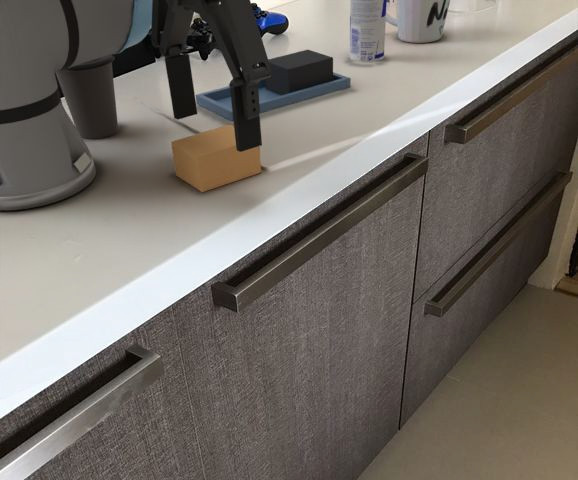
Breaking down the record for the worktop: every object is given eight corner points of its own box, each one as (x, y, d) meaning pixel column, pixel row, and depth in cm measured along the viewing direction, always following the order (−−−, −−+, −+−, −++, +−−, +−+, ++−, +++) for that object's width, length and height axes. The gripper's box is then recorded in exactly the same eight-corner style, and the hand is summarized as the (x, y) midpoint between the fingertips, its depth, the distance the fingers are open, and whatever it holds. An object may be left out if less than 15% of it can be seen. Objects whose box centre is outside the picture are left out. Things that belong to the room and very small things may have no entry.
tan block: (202, 192, 74) (197, 157, 71) (176, 175, 77) (170, 141, 75) (261, 172, 77) (258, 138, 74) (233, 157, 81) (230, 124, 78)
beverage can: (390, 62, 107) (395, -47, 98) (358, 67, 106) (361, -43, 96) (374, 54, 111) (378, -52, 102) (343, 59, 110) (344, -48, 100)
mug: (437, 48, 112) (443, -20, 106) (357, 40, 119) (358, -25, 112) (458, 32, 119) (465, -32, 113) (381, 26, 125) (384, -36, 119)
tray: (232, 125, 89) (231, 111, 88) (196, 107, 95) (195, 94, 94) (350, 90, 98) (350, 77, 97) (310, 76, 104) (310, 64, 103)
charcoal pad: (289, 99, 94) (288, 69, 92) (265, 89, 98) (263, 60, 95) (333, 86, 98) (333, 57, 95) (308, 77, 101) (308, 49, 99)
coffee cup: (138, 122, 92) (123, 43, 85) (110, 144, 86) (92, 61, 79) (87, 119, 93) (68, 41, 87) (56, 140, 88) (33, 59, 81)
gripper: (301, -106, 54) (310, 153, 67) (159, -113, 70) (189, 97, 83) (223, -95, 51) (249, 173, 64) (92, -106, 66) (135, 112, 80)
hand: (215, 131), depth 74 cm, fingers open, 13 cm apart
